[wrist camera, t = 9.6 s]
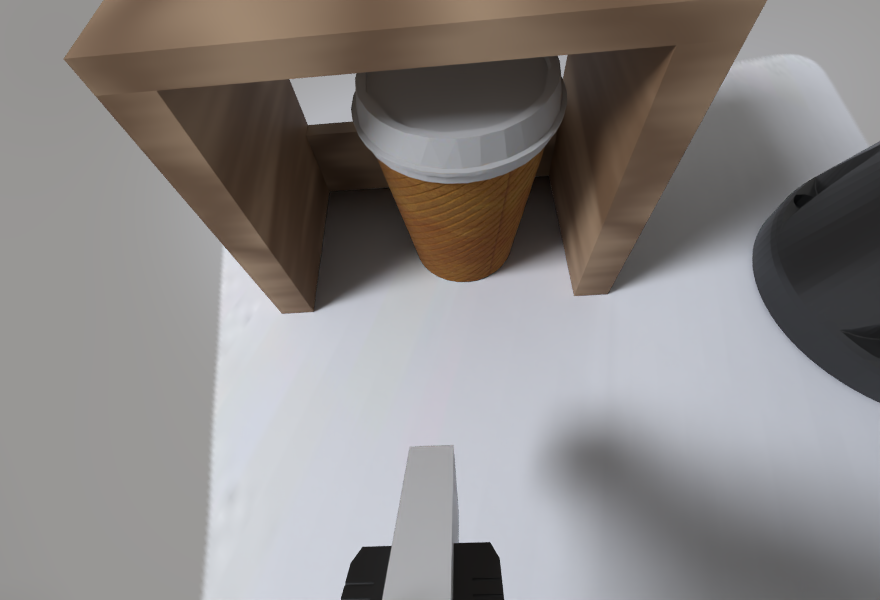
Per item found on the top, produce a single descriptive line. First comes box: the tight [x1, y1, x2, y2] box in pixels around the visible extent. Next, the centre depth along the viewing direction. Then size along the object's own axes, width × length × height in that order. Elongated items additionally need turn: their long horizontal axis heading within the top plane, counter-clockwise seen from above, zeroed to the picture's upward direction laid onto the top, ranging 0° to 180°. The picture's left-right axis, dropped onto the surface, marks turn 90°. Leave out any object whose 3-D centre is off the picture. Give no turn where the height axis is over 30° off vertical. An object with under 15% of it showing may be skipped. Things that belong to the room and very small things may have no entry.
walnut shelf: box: [64, 0, 767, 314], centre depth 22 cm, size 20×11×16 cm, turn 92°
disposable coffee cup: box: [351, 56, 567, 282], centre depth 23 cm, size 10×10×12 cm
